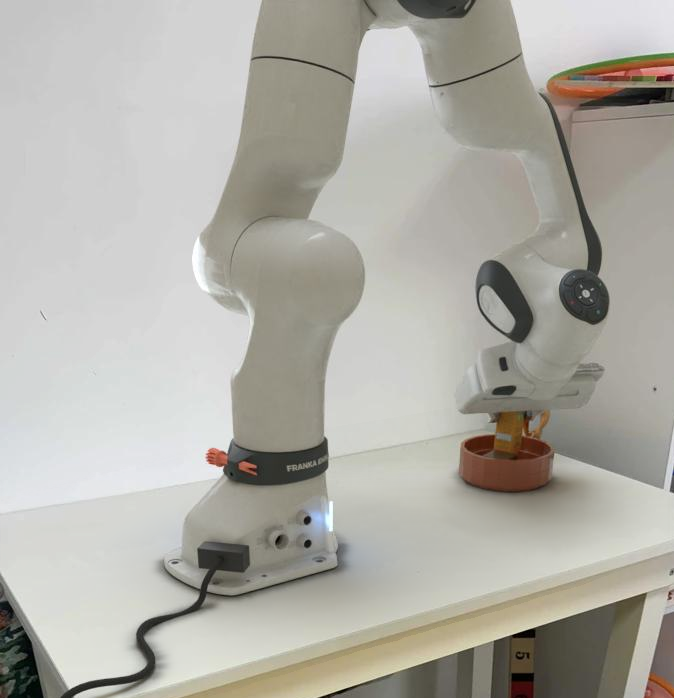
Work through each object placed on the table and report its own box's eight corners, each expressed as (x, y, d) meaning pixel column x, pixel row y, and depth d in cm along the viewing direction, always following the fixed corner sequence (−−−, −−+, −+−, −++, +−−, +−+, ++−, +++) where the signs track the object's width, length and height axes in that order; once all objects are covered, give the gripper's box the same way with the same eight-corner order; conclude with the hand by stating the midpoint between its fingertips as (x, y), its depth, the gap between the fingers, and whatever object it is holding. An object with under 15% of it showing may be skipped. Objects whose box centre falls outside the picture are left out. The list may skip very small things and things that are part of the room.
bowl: (515, 499, 128) (519, 467, 125) (440, 477, 137) (442, 446, 134) (568, 477, 137) (572, 446, 134) (494, 458, 146) (496, 428, 143)
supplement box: (512, 457, 134) (518, 392, 130) (492, 453, 136) (497, 389, 132) (522, 452, 137) (528, 388, 132) (502, 448, 139) (508, 385, 134)
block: (503, 486, 131) (505, 460, 129) (480, 481, 133) (481, 455, 132) (515, 479, 134) (518, 454, 132) (492, 474, 136) (494, 449, 134)
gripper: (604, 345, 124) (567, 397, 137) (467, 350, 121) (442, 403, 134) (614, 383, 123) (576, 432, 136) (475, 389, 119) (449, 439, 132)
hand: (508, 418), depth 135 cm, fingers closed on supplement box, 4 cm apart
